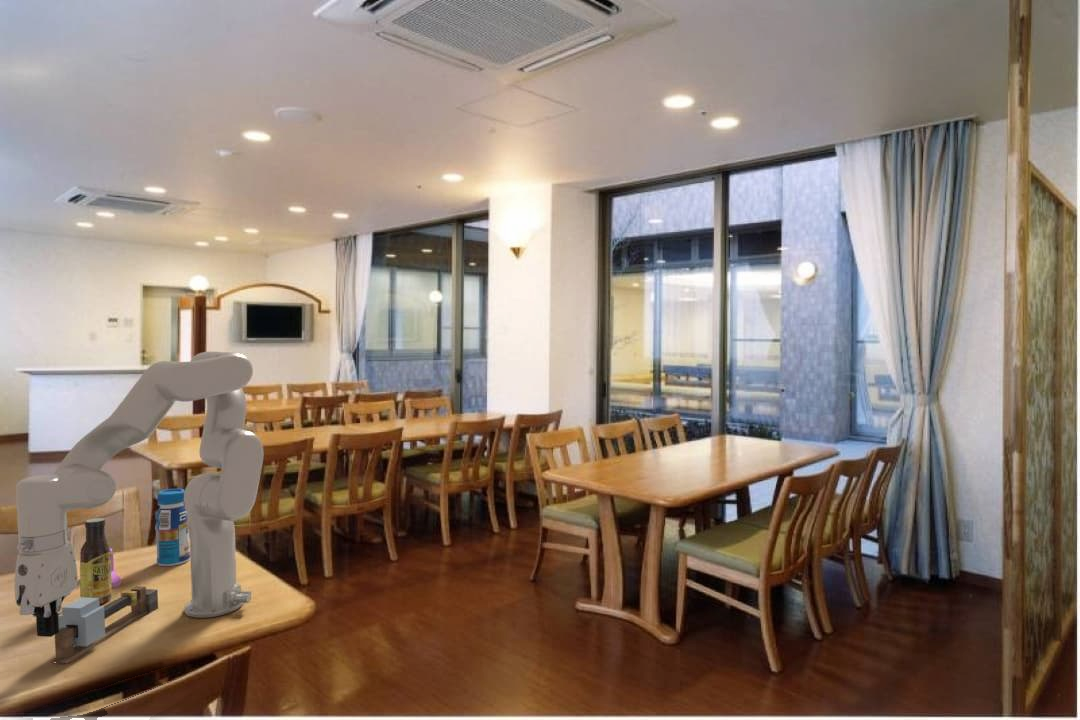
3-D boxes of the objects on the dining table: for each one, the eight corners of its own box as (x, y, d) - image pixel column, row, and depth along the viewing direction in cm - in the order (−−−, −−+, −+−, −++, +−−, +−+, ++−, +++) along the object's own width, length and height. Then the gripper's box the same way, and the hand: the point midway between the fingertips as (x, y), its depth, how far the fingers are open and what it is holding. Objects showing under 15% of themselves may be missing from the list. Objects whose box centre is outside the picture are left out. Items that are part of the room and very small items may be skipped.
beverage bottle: (151, 562, 187) (148, 491, 186) (183, 554, 194) (180, 485, 193) (163, 569, 182) (161, 496, 181) (195, 561, 188) (193, 490, 187)
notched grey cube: (105, 634, 140) (103, 598, 139) (86, 646, 135) (84, 608, 134) (78, 633, 140) (77, 597, 140) (59, 645, 135) (57, 607, 135)
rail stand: (158, 607, 157) (157, 580, 157) (69, 664, 132) (67, 631, 131) (142, 607, 158) (141, 580, 158) (50, 663, 132) (49, 631, 132)
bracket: (86, 577, 177) (84, 551, 176) (110, 572, 181) (109, 546, 180) (97, 591, 167) (96, 564, 167) (123, 585, 171) (122, 558, 171)
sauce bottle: (96, 608, 157) (92, 525, 156) (74, 606, 158) (70, 523, 157) (119, 597, 164) (115, 517, 162) (97, 595, 165) (94, 515, 164)
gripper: (27, 555, 120) (32, 654, 121) (91, 529, 135) (95, 618, 136) (-11, 553, 121) (-5, 652, 122) (57, 528, 136) (61, 616, 137)
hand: (48, 634), depth 129 cm, fingers closed
